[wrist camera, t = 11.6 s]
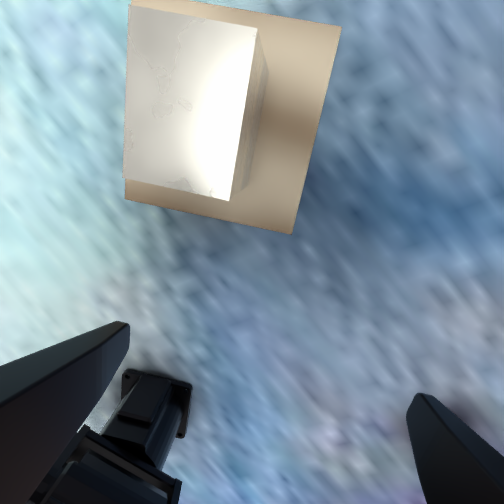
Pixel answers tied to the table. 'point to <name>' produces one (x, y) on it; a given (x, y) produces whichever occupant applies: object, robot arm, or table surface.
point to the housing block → (192, 102)
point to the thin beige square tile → (264, 119)
